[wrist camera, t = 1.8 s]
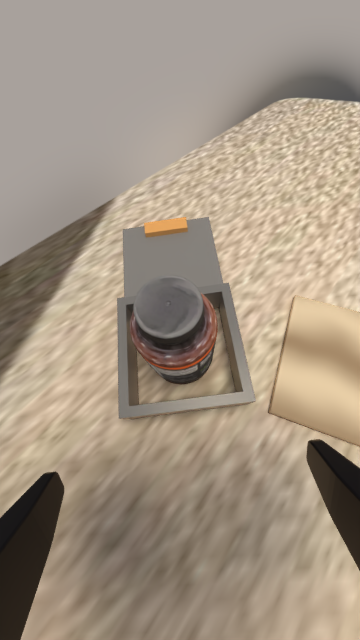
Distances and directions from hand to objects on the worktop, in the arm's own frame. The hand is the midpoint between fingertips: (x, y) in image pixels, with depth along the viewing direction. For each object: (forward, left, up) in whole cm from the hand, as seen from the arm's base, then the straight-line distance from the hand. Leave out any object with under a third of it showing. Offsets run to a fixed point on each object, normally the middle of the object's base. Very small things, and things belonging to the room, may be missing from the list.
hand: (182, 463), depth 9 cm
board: (+15, -4, -13) cm, 20 cm away
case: (+7, +11, -13) cm, 19 cm away
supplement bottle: (+4, +7, -13) cm, 15 cm away
